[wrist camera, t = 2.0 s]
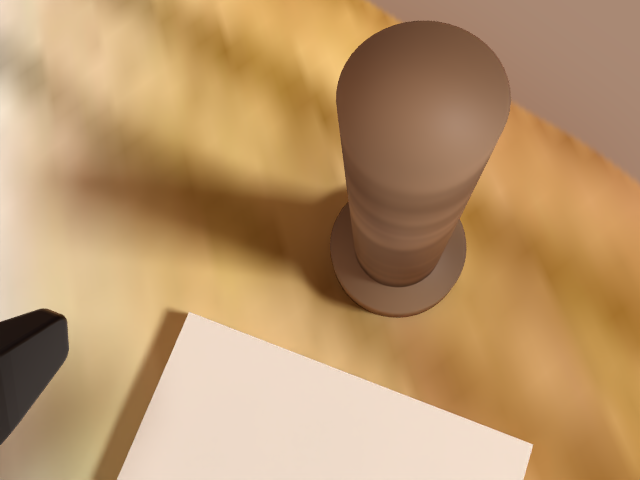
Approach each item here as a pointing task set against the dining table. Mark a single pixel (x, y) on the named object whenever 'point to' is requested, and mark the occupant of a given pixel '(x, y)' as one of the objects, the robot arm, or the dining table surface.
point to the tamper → (412, 160)
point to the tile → (299, 422)
